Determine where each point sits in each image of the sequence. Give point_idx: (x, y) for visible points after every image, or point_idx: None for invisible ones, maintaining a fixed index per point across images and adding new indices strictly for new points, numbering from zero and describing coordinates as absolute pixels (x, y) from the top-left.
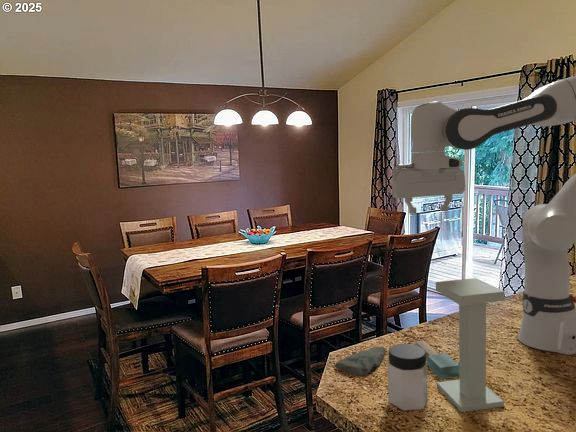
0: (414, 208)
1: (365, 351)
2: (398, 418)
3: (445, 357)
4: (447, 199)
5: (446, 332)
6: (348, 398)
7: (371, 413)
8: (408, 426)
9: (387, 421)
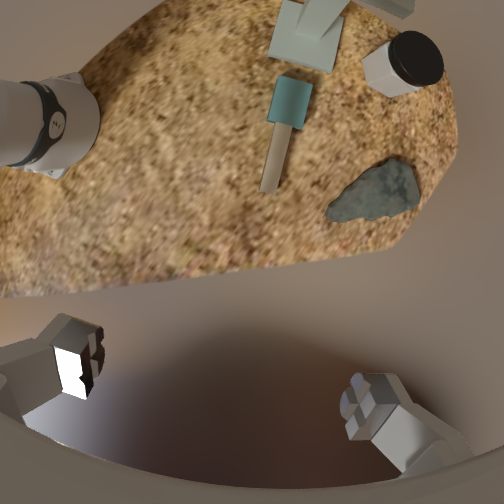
0: (390, 397)
1: (367, 211)
2: None
3: (279, 107)
4: (12, 393)
5: (175, 226)
6: (439, 123)
7: None
8: None
9: None
